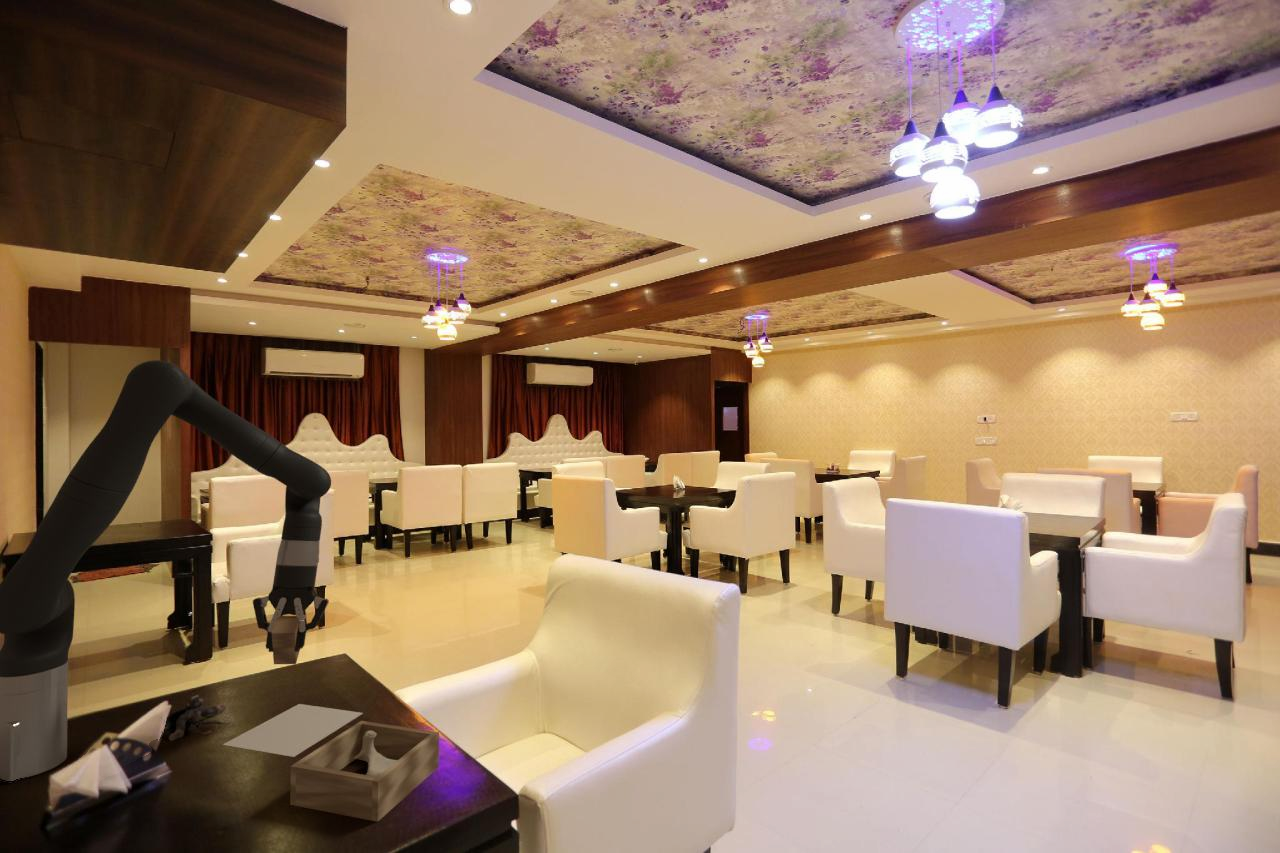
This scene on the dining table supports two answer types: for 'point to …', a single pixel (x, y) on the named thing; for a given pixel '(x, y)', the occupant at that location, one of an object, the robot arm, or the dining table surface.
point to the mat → (293, 730)
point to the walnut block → (285, 640)
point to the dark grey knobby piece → (191, 718)
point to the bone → (373, 756)
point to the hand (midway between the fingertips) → (284, 650)
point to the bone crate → (358, 793)
